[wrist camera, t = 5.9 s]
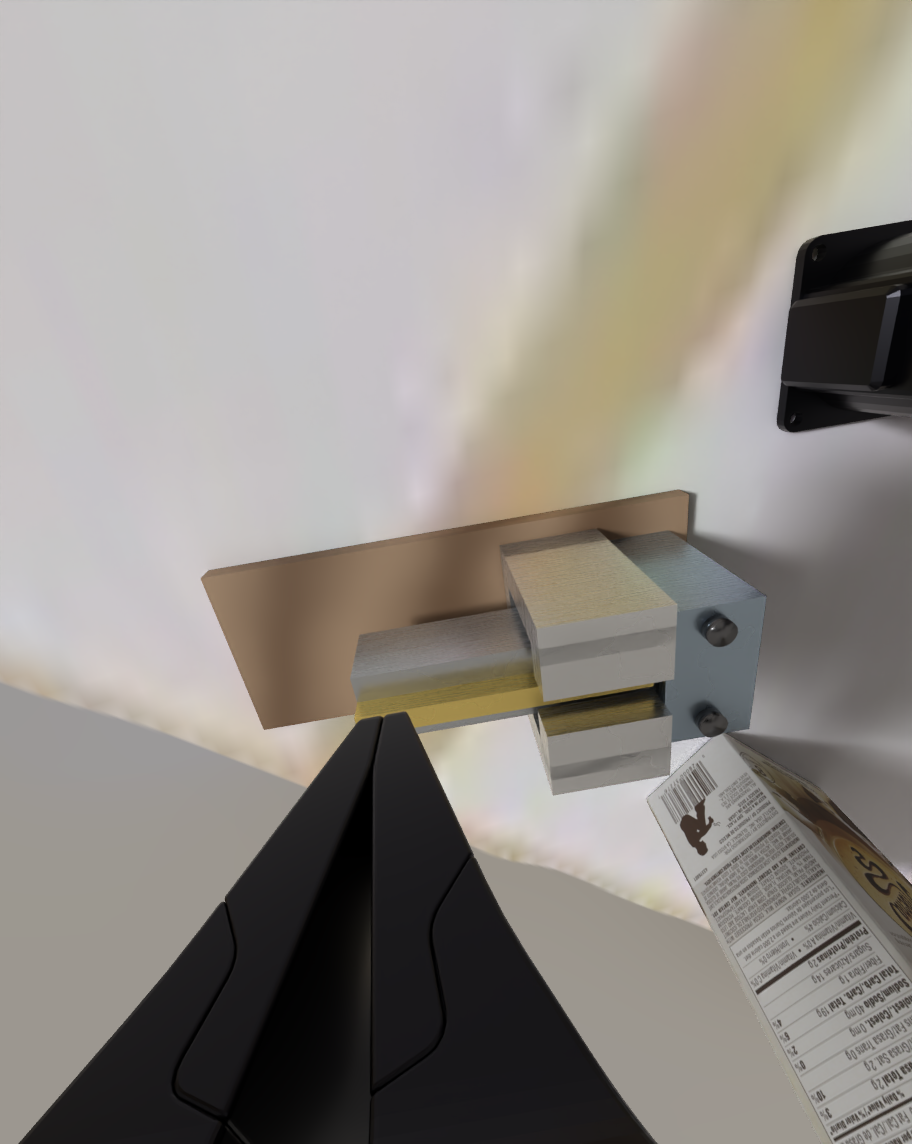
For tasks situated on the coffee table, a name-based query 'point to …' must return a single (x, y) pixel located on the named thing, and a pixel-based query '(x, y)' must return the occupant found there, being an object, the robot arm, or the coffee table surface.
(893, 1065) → the coffee box
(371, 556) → the board
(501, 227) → the coffee table surface
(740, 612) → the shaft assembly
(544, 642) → the grey slotted block
